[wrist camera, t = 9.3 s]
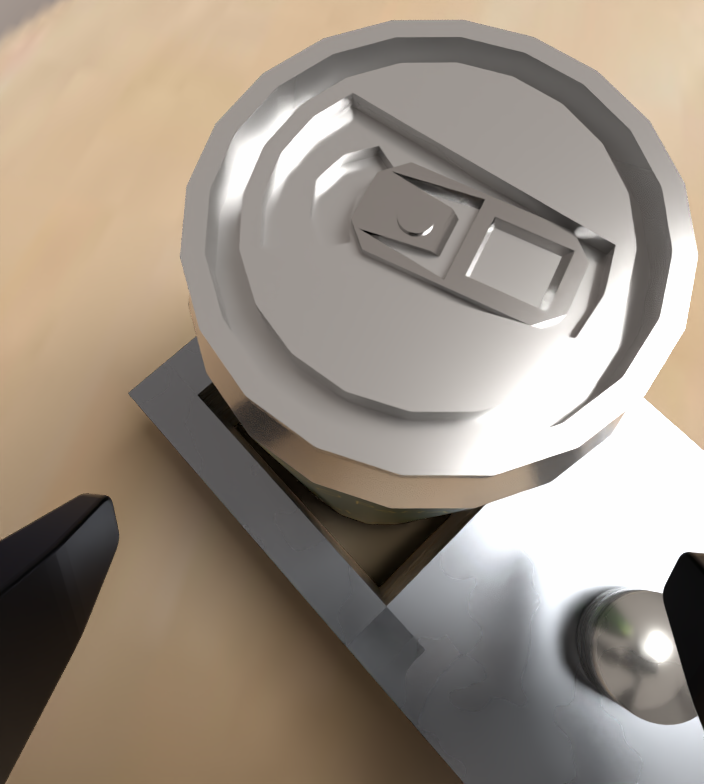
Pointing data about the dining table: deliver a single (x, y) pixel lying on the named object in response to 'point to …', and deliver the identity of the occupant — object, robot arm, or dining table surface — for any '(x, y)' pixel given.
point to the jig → (497, 598)
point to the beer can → (434, 264)
